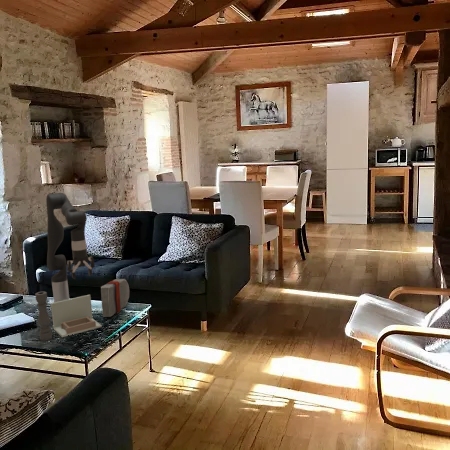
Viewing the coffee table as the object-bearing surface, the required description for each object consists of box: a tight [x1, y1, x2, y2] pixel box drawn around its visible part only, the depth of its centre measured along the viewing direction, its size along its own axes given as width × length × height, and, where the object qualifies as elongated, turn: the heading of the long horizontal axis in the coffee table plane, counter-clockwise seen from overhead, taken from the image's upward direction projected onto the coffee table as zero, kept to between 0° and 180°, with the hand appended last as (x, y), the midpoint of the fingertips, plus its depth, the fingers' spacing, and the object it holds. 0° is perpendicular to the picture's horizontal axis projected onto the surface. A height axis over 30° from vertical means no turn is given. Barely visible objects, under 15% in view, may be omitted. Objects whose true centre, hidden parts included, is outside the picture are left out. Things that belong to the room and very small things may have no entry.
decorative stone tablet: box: [100, 278, 130, 318], centre depth 306 cm, size 19×6×30 cm
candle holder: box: [34, 291, 53, 341], centre depth 269 cm, size 6×6×25 cm
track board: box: [50, 294, 102, 338], centre depth 282 cm, size 15×22×15 cm
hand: (82, 277), depth 277 cm, fingers open, 8 cm apart
